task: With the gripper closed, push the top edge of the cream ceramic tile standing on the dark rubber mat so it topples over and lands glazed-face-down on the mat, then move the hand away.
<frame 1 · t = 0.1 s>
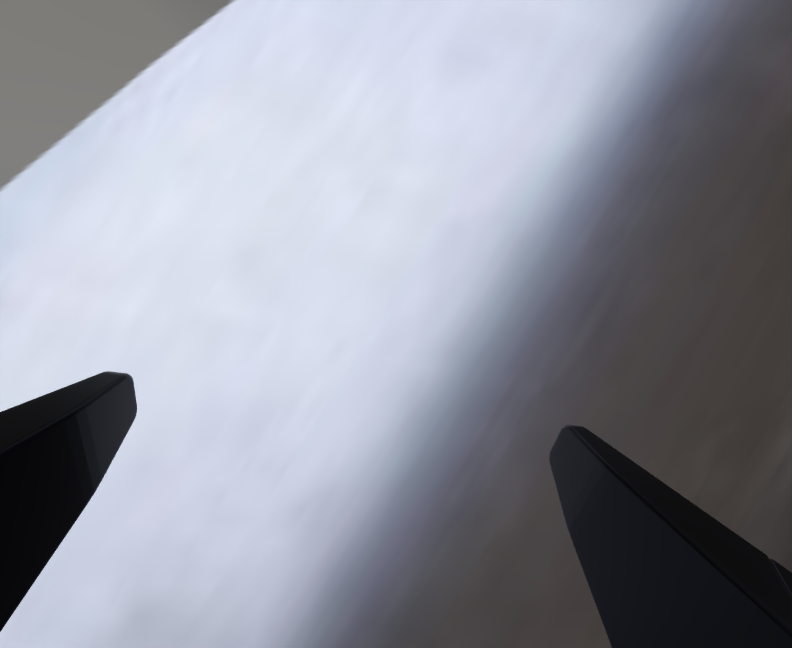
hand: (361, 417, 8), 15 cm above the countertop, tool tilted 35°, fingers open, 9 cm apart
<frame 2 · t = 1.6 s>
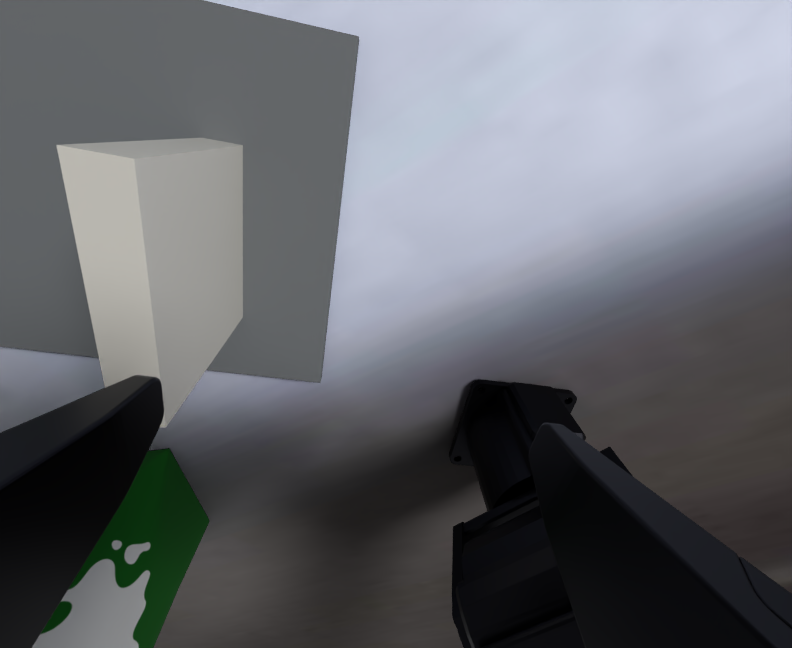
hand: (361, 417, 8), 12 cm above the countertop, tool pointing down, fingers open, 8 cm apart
tile: (224, 237, 17), point 1 cm above the countertop, touching mat
mat: (112, 204, 17), on the countertop
milk carton: (141, 489, 25), on the countertop
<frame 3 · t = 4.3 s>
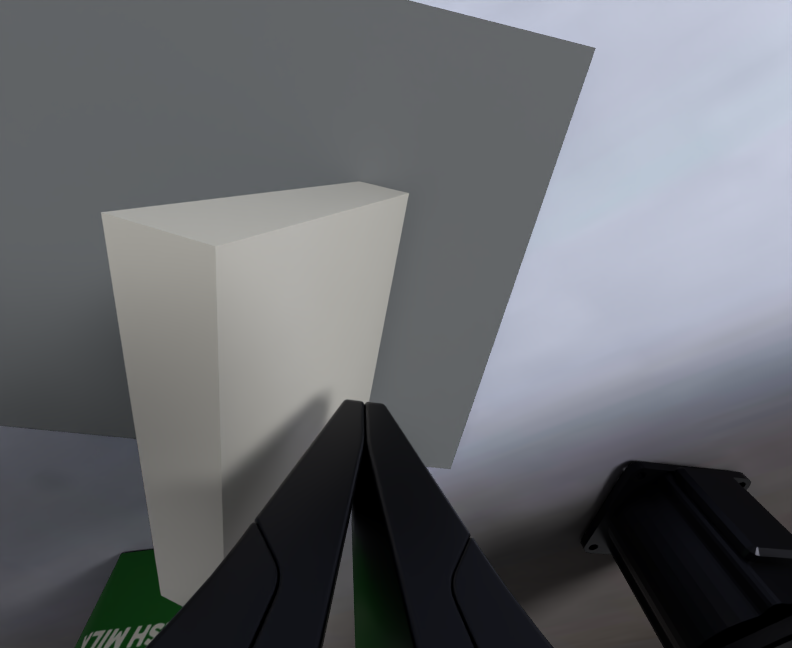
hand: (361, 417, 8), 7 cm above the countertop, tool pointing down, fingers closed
tile: (364, 307, 13), point 1 cm above the countertop, tilted 20°, touching mat
mat: (224, 262, 13), on the countertop
milk carton: (212, 577, 21), on the countertop
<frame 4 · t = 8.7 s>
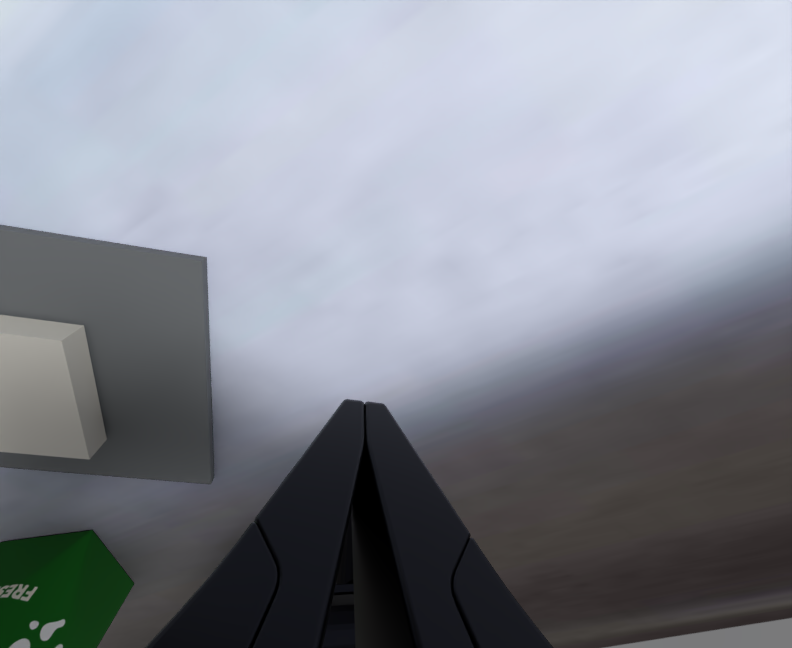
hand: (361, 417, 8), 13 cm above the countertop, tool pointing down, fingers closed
tile: (86, 395, 21), point 2 cm above the countertop, tilted 90°, touching mat
mat: (26, 362, 22), on the countertop
milk carton: (73, 559, 30), on the countertop
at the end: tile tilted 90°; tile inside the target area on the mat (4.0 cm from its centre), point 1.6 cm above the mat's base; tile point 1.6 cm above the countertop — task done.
